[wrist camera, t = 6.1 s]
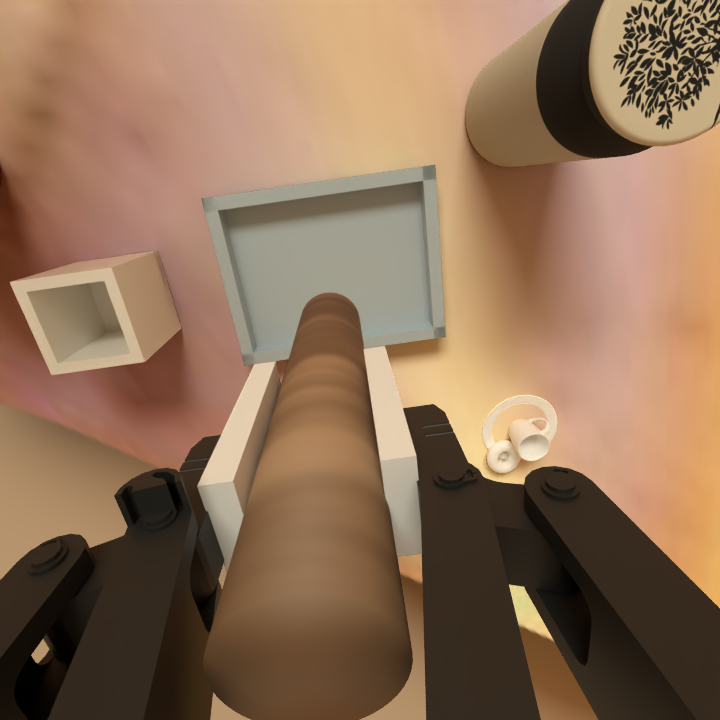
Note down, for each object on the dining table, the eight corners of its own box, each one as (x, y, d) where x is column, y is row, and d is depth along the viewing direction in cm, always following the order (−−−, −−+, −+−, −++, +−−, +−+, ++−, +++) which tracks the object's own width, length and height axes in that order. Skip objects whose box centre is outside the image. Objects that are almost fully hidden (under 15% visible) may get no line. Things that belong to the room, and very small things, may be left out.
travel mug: (449, 150, 34) (554, 118, 18) (486, 35, 32) (651, -130, 15) (538, 179, 36) (714, 175, 19) (582, 71, 33) (833, -46, 16)
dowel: (295, 296, 23) (176, 608, 6) (355, 288, 23) (403, 579, 6) (306, 352, 24) (231, 740, 7) (363, 344, 24) (420, 715, 7)
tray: (210, 197, 35) (201, 198, 33) (428, 166, 35) (435, 164, 32) (250, 355, 40) (244, 365, 38) (439, 328, 40) (445, 336, 38)
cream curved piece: (494, 473, 47) (508, 498, 44) (460, 422, 45) (472, 444, 41) (566, 434, 46) (587, 456, 42) (536, 378, 43) (555, 397, 39)
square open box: (76, 262, 36) (9, 282, 29) (157, 250, 36) (111, 267, 29) (105, 339, 39) (51, 375, 32) (181, 328, 39) (145, 361, 32)
